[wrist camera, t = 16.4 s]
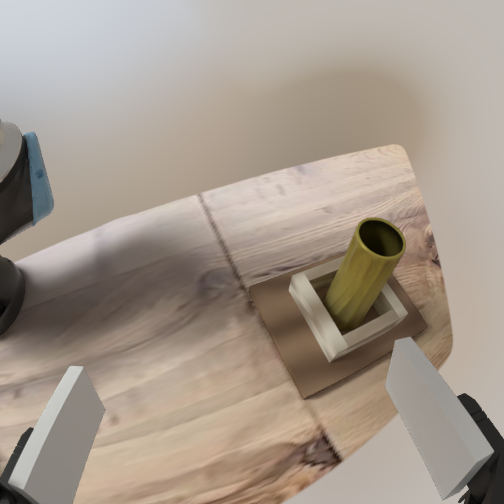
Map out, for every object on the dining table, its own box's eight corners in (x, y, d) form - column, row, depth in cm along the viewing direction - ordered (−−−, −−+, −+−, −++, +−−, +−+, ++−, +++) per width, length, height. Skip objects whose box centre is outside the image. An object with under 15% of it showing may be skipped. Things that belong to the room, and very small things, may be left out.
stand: (249, 292, 41) (249, 271, 37) (365, 248, 47) (375, 227, 43) (303, 399, 32) (311, 390, 28) (423, 330, 38) (440, 314, 34)
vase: (330, 282, 41) (360, 205, 30) (370, 300, 39) (414, 229, 28) (313, 318, 37) (343, 245, 26) (356, 338, 36) (404, 273, 24)
